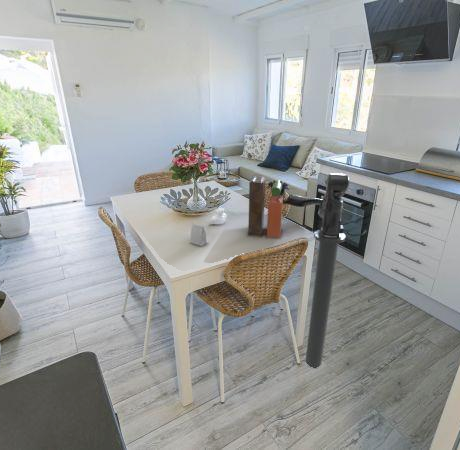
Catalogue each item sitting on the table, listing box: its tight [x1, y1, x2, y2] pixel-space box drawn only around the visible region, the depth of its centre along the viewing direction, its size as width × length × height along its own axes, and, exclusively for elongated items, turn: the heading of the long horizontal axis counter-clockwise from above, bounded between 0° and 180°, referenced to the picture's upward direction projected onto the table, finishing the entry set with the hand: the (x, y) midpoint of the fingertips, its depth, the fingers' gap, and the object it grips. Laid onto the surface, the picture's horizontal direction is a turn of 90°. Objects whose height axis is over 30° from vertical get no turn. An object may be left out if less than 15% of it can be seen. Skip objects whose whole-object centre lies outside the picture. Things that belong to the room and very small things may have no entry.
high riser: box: [247, 175, 266, 237], centre depth 169 cm, size 7×12×31 cm, turn 171°
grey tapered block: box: [190, 223, 207, 247], centre depth 158 cm, size 4×7×10 cm, turn 58°
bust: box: [209, 207, 228, 226], centre depth 183 cm, size 12×8×11 cm
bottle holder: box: [266, 194, 284, 239], centre depth 170 cm, size 7×12×21 cm, turn 171°
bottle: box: [270, 179, 282, 196], centre depth 169 cm, size 5×21×5 cm, turn 171°
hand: (277, 182), depth 172 cm, fingers closed on bottle, 2 cm apart
